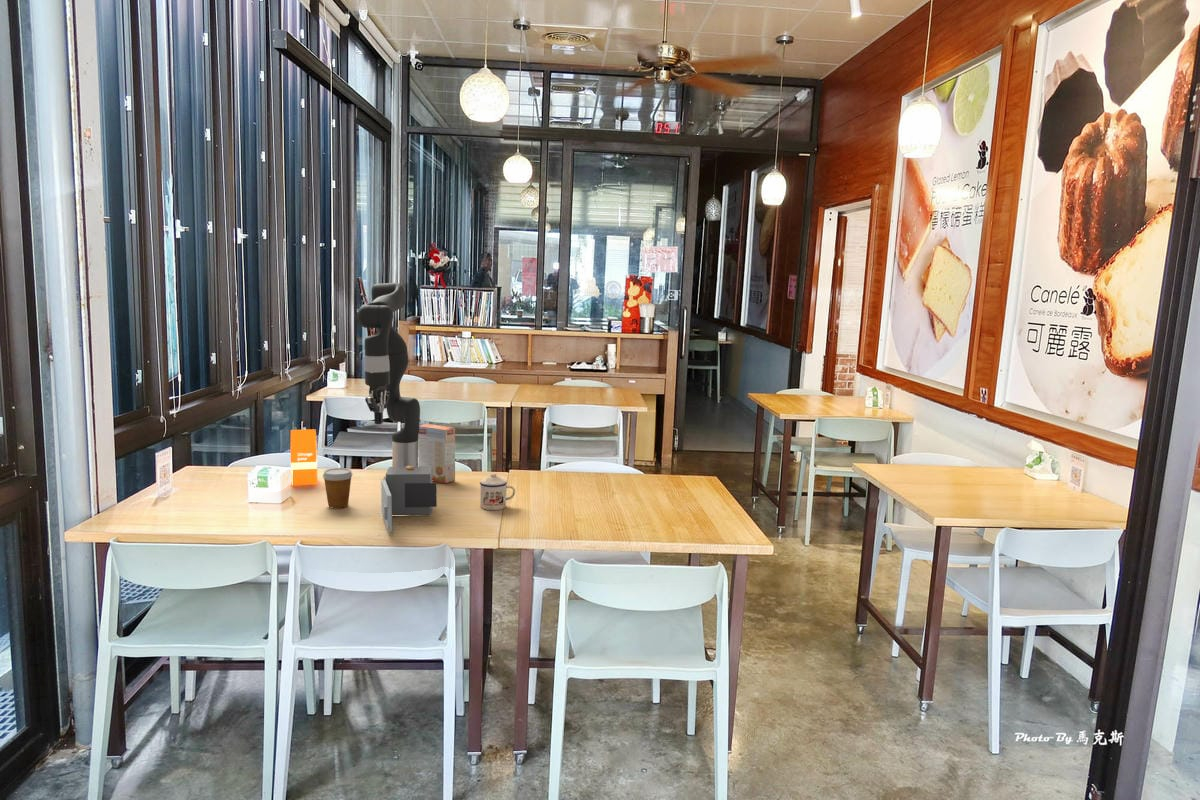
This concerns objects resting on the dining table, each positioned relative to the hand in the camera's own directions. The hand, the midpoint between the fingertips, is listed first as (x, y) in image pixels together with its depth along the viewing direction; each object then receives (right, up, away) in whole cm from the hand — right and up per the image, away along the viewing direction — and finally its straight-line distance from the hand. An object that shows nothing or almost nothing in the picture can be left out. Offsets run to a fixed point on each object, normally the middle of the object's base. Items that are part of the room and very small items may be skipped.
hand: (378, 423), depth 248 cm
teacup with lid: (+35, -29, +20) cm, 50 cm away
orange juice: (-40, -23, +43) cm, 63 cm away
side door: (+3, -30, -4) cm, 31 cm away
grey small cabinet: (+7, -30, +12) cm, 33 cm away
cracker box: (+7, -23, +53) cm, 58 cm away
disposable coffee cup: (-18, -28, +16) cm, 37 cm away
